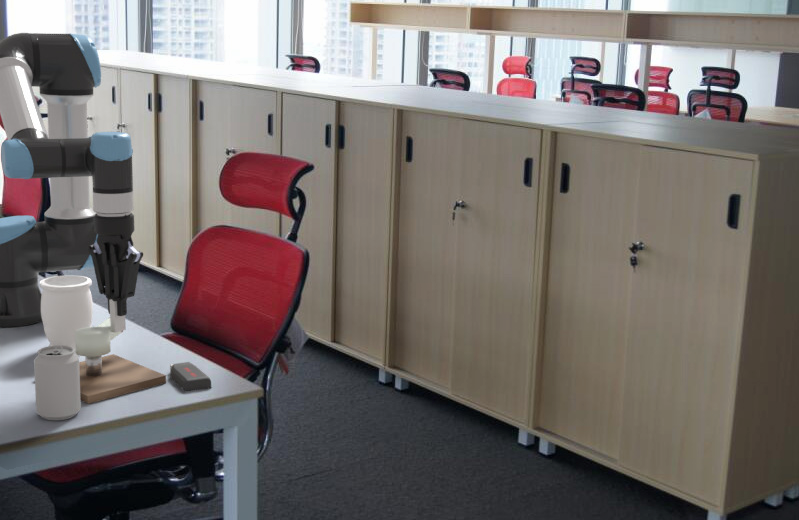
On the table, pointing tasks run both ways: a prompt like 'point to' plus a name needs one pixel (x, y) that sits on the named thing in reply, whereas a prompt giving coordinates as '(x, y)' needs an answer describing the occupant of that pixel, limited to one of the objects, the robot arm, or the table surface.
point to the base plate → (116, 379)
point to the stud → (93, 365)
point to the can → (57, 382)
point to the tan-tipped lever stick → (94, 340)
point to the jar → (65, 308)
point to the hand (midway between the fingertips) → (118, 330)
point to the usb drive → (189, 377)
